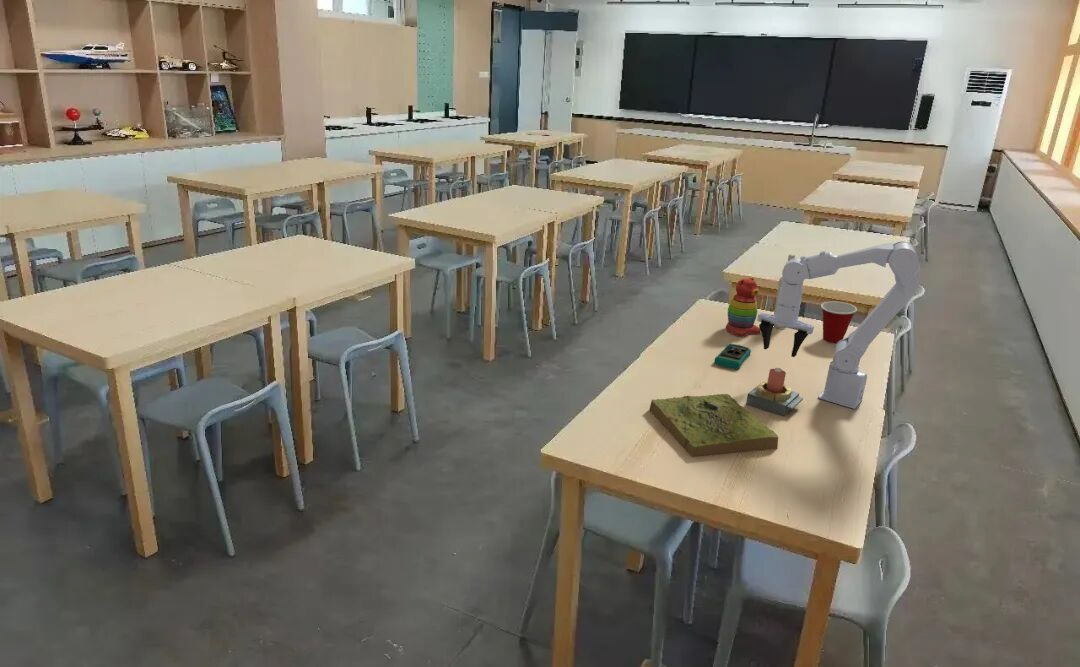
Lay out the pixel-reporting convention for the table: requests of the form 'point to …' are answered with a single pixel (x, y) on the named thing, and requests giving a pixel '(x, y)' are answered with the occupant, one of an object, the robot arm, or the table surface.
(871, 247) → the robot arm
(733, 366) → the digital multimeter
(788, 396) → the stone well model
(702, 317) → the table surface
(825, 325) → the plastic cup
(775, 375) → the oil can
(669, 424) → the miniature landscape model
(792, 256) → the bottle
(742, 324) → the stacking bear
